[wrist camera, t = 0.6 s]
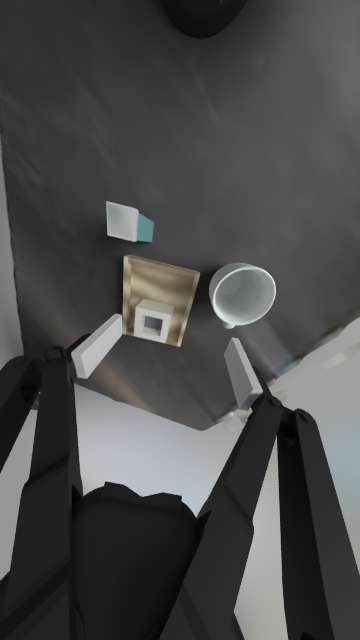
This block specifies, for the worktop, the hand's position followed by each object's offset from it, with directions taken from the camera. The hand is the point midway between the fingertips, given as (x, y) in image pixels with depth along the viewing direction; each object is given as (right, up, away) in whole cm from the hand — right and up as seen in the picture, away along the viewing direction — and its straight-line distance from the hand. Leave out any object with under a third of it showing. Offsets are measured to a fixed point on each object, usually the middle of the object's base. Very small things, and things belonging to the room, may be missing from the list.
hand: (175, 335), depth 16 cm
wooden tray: (-5, +7, +24) cm, 26 cm away
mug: (+13, +11, +20) cm, 27 cm away
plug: (-8, +23, +16) cm, 29 cm away
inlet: (-6, +4, +26) cm, 27 cm away
